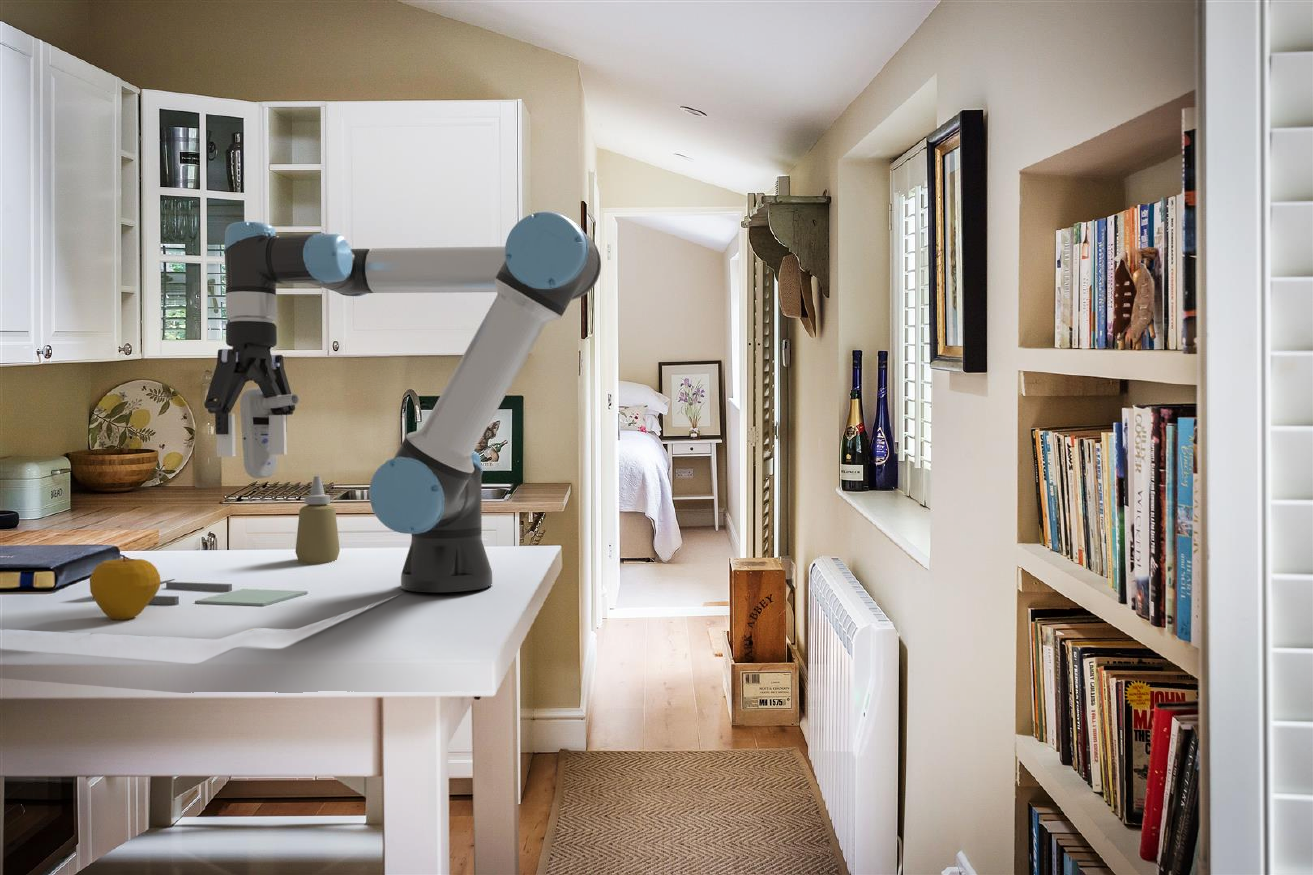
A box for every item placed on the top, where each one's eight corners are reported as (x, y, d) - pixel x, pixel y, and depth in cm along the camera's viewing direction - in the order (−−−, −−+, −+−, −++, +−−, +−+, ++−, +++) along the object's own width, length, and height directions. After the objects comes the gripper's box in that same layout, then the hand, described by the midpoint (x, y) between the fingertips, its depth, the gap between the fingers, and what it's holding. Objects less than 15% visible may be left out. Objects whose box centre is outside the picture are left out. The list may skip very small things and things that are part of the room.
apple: (174, 613, 148) (173, 552, 148) (129, 624, 139) (129, 559, 139) (121, 611, 150) (121, 550, 150) (74, 622, 142) (73, 558, 141)
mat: (307, 593, 166) (307, 591, 166) (263, 605, 154) (263, 603, 154) (242, 591, 169) (242, 588, 169) (194, 603, 157) (194, 600, 157)
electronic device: (287, 475, 162) (281, 381, 162) (242, 479, 166) (236, 388, 166) (311, 474, 167) (305, 383, 167) (267, 478, 171) (261, 389, 171)
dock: (252, 586, 174) (252, 562, 174) (175, 604, 156) (175, 578, 155) (166, 583, 178) (166, 560, 178) (81, 601, 159) (80, 575, 159)
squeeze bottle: (307, 567, 199) (307, 475, 199) (347, 567, 198) (346, 475, 198) (287, 572, 191) (287, 477, 191) (328, 573, 190) (327, 477, 190)
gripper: (276, 330, 174) (278, 453, 174) (177, 313, 150) (179, 457, 150) (315, 328, 172) (317, 453, 173) (221, 311, 148) (224, 457, 148)
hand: (253, 455), depth 161 cm, fingers open, 13 cm apart
